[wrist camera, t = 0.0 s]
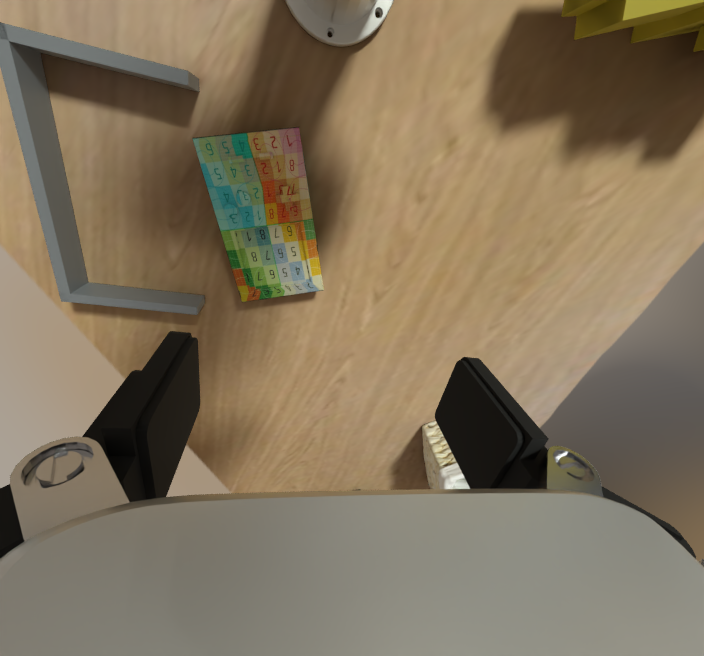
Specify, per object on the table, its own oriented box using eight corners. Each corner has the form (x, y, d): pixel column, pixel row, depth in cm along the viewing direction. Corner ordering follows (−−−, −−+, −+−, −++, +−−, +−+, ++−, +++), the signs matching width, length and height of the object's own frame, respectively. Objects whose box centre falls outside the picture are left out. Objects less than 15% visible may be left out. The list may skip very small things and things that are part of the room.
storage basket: (416, 419, 67) (443, 483, 54) (488, 401, 67) (533, 459, 55) (423, 485, 79) (447, 549, 66) (485, 469, 79) (521, 529, 67)
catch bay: (22, 33, 31) (-13, 19, 28) (199, 78, 35) (187, 70, 31) (80, 289, 44) (61, 301, 40) (204, 302, 47) (197, 314, 44)
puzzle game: (298, 126, 34) (324, 292, 44) (299, 128, 38) (322, 281, 48) (189, 137, 34) (240, 305, 44) (201, 139, 38) (245, 291, 48)
